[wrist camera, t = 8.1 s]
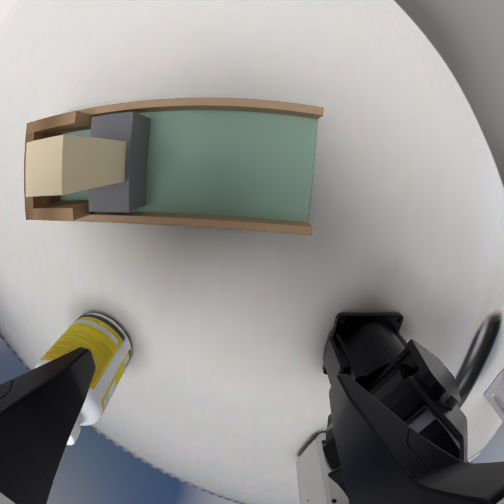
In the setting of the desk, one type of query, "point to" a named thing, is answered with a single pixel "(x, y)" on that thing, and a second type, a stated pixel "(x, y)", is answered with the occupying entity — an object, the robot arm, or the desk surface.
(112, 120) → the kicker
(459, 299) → the desk surface
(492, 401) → the game console
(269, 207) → the pitch
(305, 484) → the stereo radio cassette player
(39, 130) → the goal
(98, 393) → the pill bottle
